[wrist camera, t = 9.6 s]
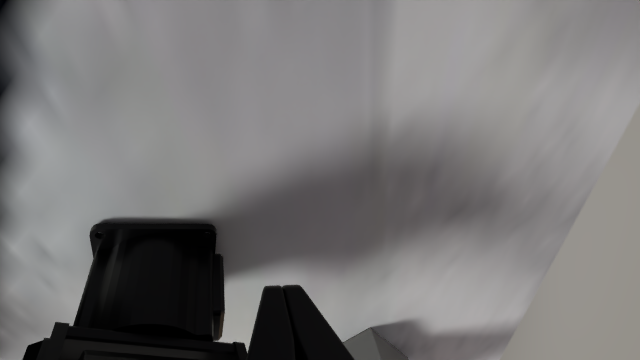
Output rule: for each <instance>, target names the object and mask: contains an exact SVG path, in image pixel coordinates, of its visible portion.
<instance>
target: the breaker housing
mask: <svg viewBox="0 0 640 360" xmlns="http://www.w3.org/2000/svg"><path fill="white" fill-rule="evenodd" d="M343 344H344V345H345V347H346V348H347V350H348V351H349V352H350V354H351V355H352V356H353V358H354V359H355V360H408V358H407V357H406V356H405V355H404V354H402V353H401V352H400V351H399V350H397V349H396V348H395V347H394V346H392V345H391V344H390V343H389V342H387V341H386V340H385V339H384V338H382V337H381V336H380V335H379V334H378V333H376V332H375V331H374V330H373V329H371V328H369V329H367V330H365V331H363V332H362V333H360V334H358V335H356V336H354V337H353V338H351V339H349V340H347V341H345V342H344V343H343Z"/></svg>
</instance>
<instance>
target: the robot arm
mask: <svg viewBox="0 0 640 360" xmlns="http://www.w3.org/2000/svg"><path fill="white" fill-rule="evenodd" d="M98 232H102V233H104V234H100V233H98ZM205 232H210V233H208V234H206V233H205ZM90 241H91V247H92V252H93V258H94V259H93V262H92V265H91V269H90V272H89V275H88V279H87V282H86V285H85V288H84V292H83V295H82V298H81V302H80V305H79V308H78V311H77V315H76V318H75V321H74V325H73V326H69V323H60V322H55V325H54V328H53V331H52V334H51V337H50V338H44V340H43V341H40V342H37V343H34V344H31V345H28V347H27V349H26V352H25V355H24V357H23V360H355V359H354V358H353V356H352V355H351V354H350V352H349V351H348V350H347V348H346V347H345V345H344V344H343V343H342V341H341V340H340V339H339V337H338V336H337V335H336V333H335V332H334V330H333V329H332V328H331V326H330V325H329V324H328V322H327V321H326V319H325V318H324V317H323V315H322V314H321V313H320V311H319V310H318V309H317V307H316V306H315V304H314V303H313V302H312V300H311V299H310V298H309V296H308V295H307V293H306V292H305V291H304V289H303V288H302V287H301V286H300V285H284V286H283V287H281V286H279V285H277V286H265V287H264V289H263V292H262V297H261V301H260V305H259V309H258V313H257V317H256V321H255V325H254V329H253V333H252V337H251V341H250V346H249V350H248V354H247V351H246V347H245V344H244V343H240V342H233V343H224V342H214V341H218V340H219V339H220V338H221V337H222V331H223V322H224V313H225V302H224V268H223V256H221V255H220V254H215V247H216V228H215V226H213V225H210V224H96V225H94V226H93V227H92V228H91V231H90Z"/></svg>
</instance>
